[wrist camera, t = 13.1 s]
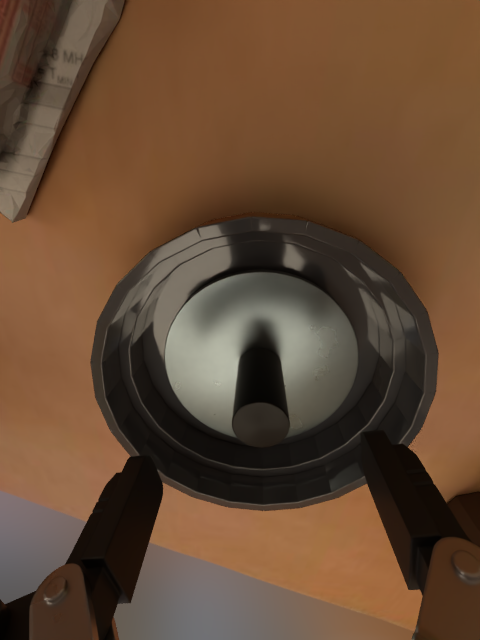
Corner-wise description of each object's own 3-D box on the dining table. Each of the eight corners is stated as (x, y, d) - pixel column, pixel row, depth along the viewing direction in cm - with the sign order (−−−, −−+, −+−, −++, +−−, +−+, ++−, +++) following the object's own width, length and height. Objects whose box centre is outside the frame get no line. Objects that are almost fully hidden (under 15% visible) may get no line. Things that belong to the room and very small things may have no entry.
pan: (86, 244, 17) (32, 259, 13) (397, 181, 15) (450, 176, 11) (168, 463, 23) (149, 520, 19) (396, 440, 21) (429, 498, 17)
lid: (145, 285, 17) (92, 328, 12) (348, 249, 16) (397, 277, 10) (194, 437, 22) (172, 521, 16) (357, 419, 20) (396, 504, 15)
